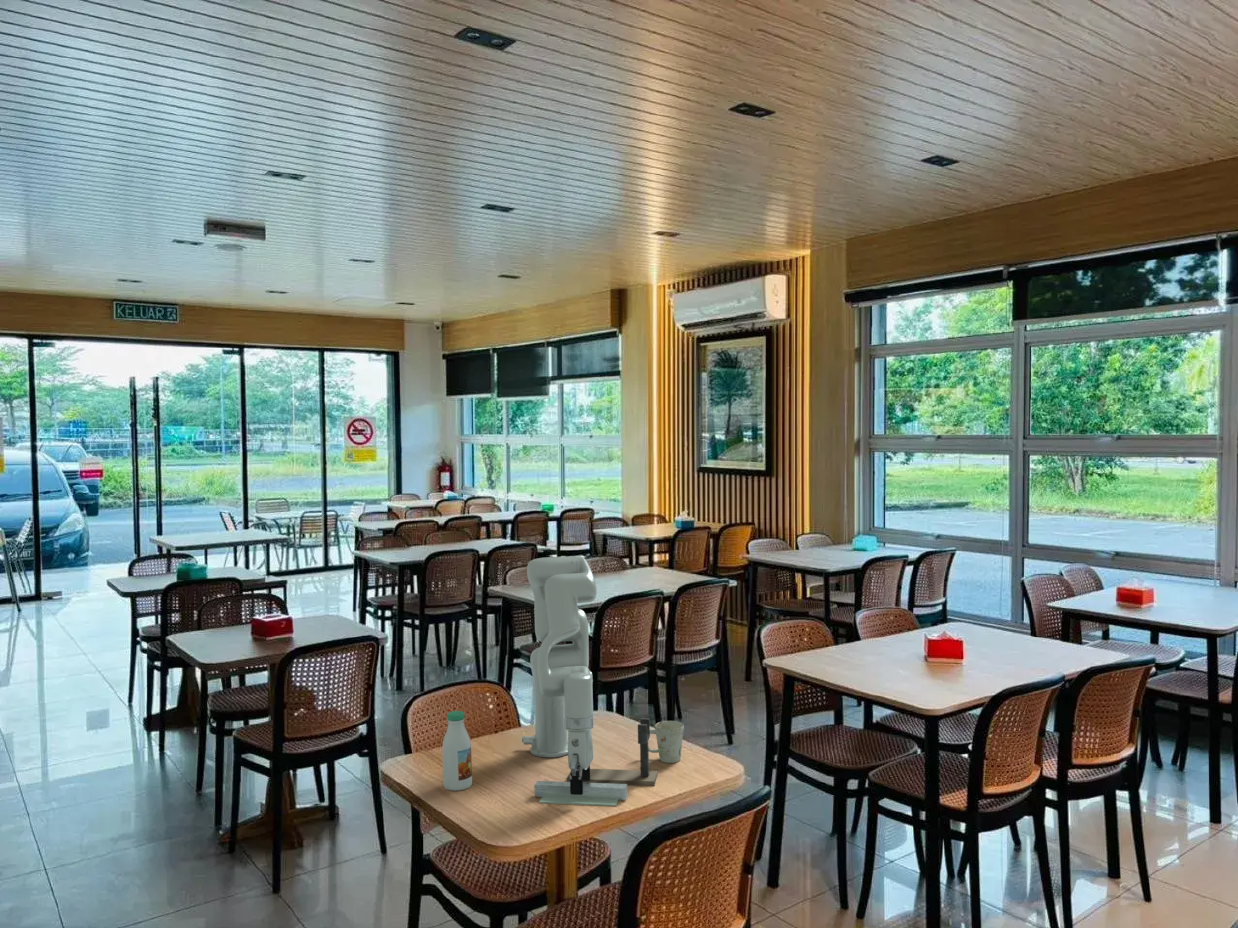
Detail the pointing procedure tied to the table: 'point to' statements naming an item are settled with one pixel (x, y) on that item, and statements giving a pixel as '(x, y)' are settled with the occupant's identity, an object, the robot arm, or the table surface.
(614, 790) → the rail
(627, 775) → the hook stand
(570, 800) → the mat
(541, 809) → the table surface
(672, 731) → the mug
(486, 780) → the table surface
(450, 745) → the milk bottle
